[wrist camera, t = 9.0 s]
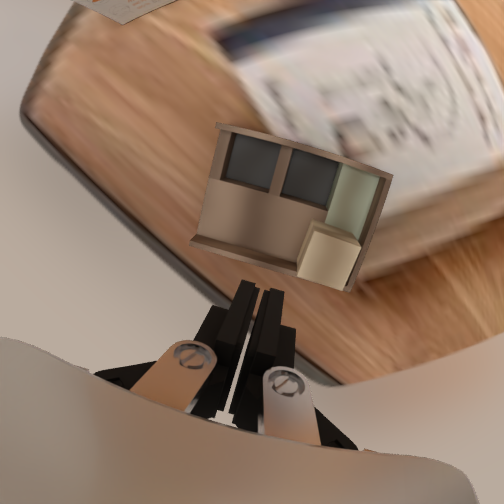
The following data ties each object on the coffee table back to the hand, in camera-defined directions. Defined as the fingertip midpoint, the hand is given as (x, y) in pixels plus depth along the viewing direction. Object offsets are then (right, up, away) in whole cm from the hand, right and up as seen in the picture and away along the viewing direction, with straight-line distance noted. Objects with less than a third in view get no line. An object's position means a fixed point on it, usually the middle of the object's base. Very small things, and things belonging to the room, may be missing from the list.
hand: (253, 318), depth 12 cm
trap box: (+3, +7, +17) cm, 19 cm away
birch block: (+7, +3, +16) cm, 18 cm away
